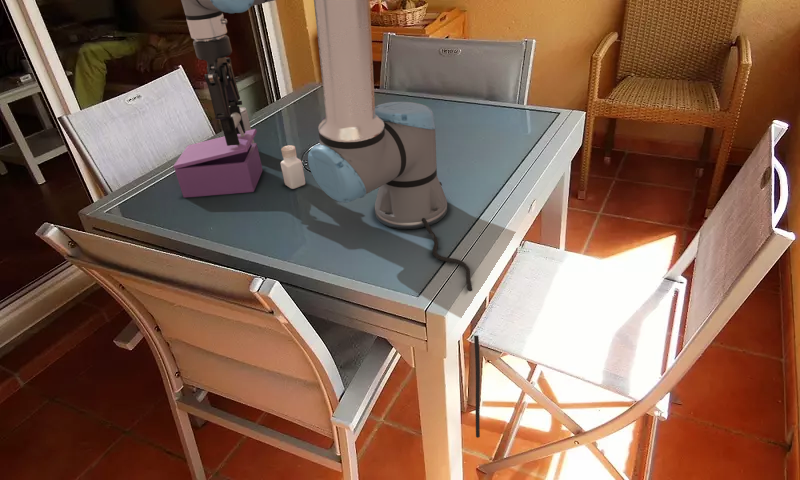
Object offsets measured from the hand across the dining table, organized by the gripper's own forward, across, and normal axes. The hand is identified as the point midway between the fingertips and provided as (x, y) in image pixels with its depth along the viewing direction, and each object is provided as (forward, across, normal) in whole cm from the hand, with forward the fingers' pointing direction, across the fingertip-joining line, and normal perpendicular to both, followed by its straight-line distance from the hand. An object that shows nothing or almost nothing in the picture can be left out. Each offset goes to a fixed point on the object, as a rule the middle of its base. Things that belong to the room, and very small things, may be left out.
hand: (236, 138), depth 134 cm
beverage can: (+11, +18, +4) cm, 22 cm away
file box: (+11, 0, +6) cm, 13 cm away
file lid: (+2, 0, +5) cm, 6 cm away
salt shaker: (+12, -4, -12) cm, 17 cm away
